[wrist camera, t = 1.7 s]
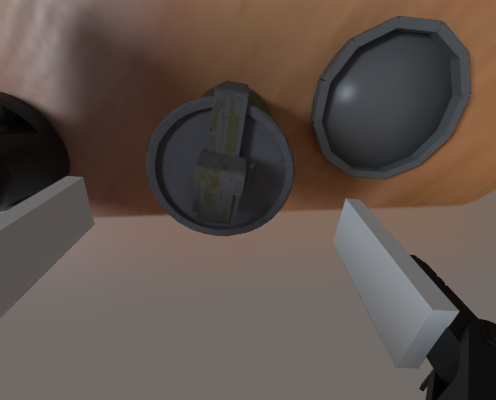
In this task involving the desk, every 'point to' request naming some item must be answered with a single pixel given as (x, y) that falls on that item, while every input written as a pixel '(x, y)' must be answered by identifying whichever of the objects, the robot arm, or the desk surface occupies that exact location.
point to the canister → (221, 162)
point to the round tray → (391, 97)
